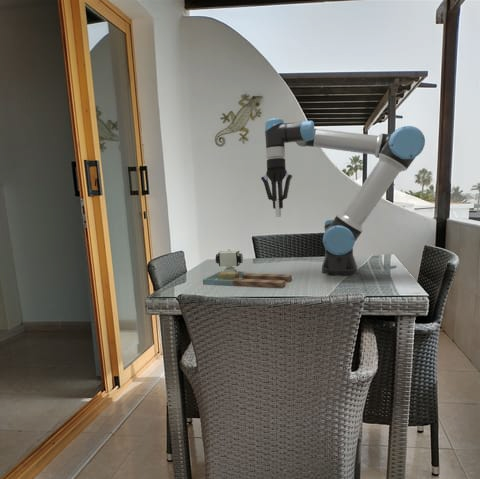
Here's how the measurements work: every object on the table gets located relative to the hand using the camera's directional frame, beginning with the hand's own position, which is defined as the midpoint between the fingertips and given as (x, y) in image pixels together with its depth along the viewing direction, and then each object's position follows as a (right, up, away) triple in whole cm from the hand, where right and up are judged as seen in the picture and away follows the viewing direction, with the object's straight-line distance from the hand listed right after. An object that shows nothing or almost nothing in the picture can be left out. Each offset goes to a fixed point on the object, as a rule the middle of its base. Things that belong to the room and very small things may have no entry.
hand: (278, 216), depth 147 cm
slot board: (-7, -28, -6) cm, 29 cm away
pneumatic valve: (-20, -26, +15) cm, 36 cm away
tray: (-22, -28, 0) cm, 35 cm away
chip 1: (-23, -27, 0) cm, 35 cm away
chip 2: (-19, -27, -1) cm, 33 cm away
